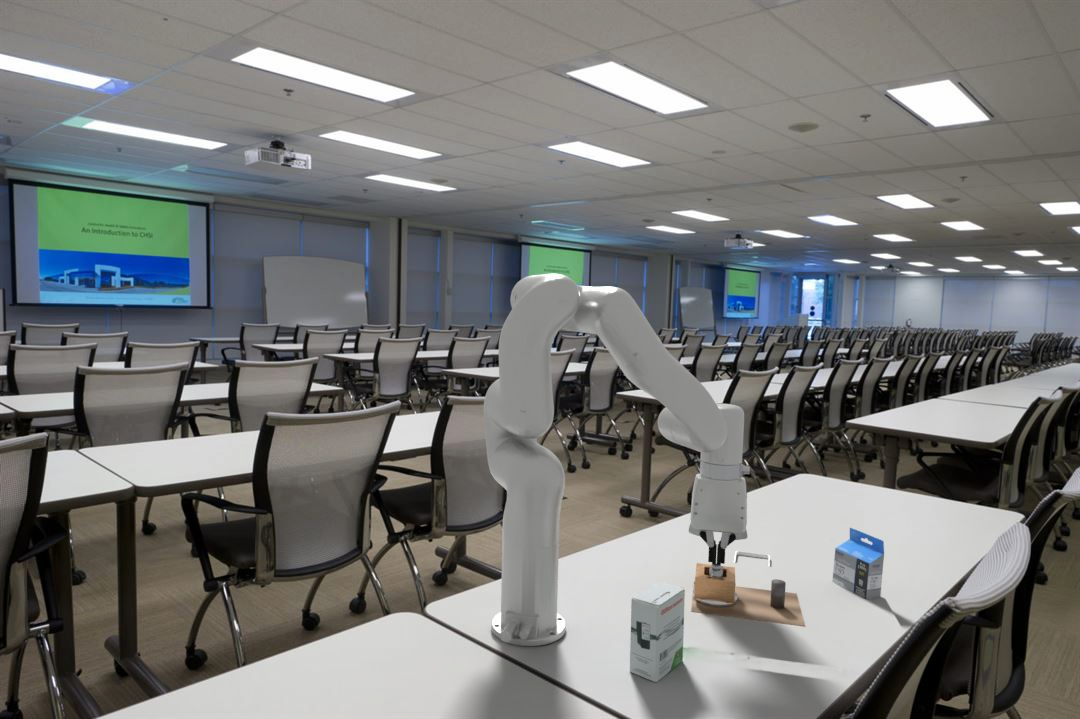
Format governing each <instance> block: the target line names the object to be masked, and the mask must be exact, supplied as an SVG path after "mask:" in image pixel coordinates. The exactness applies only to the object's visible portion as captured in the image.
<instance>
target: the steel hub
mask: <svg viewBox="0 0 1080 719" xmlns="http://www.w3.org/2000/svg"><path fill="white" fill-rule="evenodd" d="M711 565H712V567H711V568H710V569H709V575H710V576H719V577H723V569H721V566H722V565H719V564H717V563H716V564H712V563H711ZM694 594H695V588H694V589H692V598H694ZM694 600H695V601H697V602H698V603H700V604H703V605H706V606H710V607H716V608H726V607H731V606H734V605H735V604H736V603H737V593H736V592H735V600H734V603H728V602H720V601H712V600H704V599H696V598H694Z"/></svg>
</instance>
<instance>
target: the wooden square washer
mask: <svg viewBox="0 0 1080 719" xmlns="http://www.w3.org/2000/svg"><path fill="white" fill-rule="evenodd" d="M711 567H712V564H710V563H709V564H708V563H701V562H700V563H699V562H696V565H695V576H694V577H695V578H694V581H695V594H694V598H696V599H704V600H712V601H720V602H728V603H734V600H735V586H736V567H735V566H725V565H721V569H723V577H719V576H710V575H709V569H710V568H711Z"/></svg>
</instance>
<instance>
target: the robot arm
mask: <svg viewBox="0 0 1080 719" xmlns="http://www.w3.org/2000/svg"><path fill="white" fill-rule="evenodd" d="M509 301H510V306H511V310H510V312H509V314H508V315H507V317H506V319H505V321H504V323H503V325H502V328H501V331H500V336H499V341H498V376H499V378H498V379H496V380H494V382H492V384H491V385H490V386H489V387H488V389H487V390H486V393H485V397H484V399H483V400H484V401H483V421H484V422H483V423H484V433H485V434H484V435H485V446H486V456H487V464H488V469H489V472H490V474H491V475H492V477H493V479H494V480H495V481H496V482H497V483H498V484H499V485H500V486H501V487H502V488H504V490H506V500H505V501H506V502H505V506H504V511H503V517H502V528H501V529H502V530H501V533H502V534H501V536H502V537H501V542H502V543H501V545H502V546H501V583H500V585H501V589H500V591H501V594H500V595H501V596H500V612H498V613H497V614H496V615H495V616H493V618H492V620H491V626H490V628H491V629H490V630H491V632H492V634H493V635H494V636H495V637H497V638H498V639H499V640H500V641H503V643H508V644H510V645H516V646H521V647H523V646H524V647H538V646H546V645H548V644H552V643H554V642H556V641H559V639H561V638H562V637H563V636H564V634H566V633H565V632H566V631H567V630H566V627H567V626H566V625H567V624H566V623H567V622H566V620H565V619H564V617H562V615H560V614H559V613H558V589H559V588H558V587H559V558H560V557H559V550H560V547H559V546H560V539H559V538H560V521H561V520H560V519H561V508H562V502H563V496H564V492H565V486H566V474H565V469H564V466H563V465H562V462H561V461H560V459H559V458H558V457H557V455H556V454H555V453H554V452H553V451H551V450H550V449H548V448H547V447H545V446H544V445H541V444H539V443H538V438H540V437H542V436H544V434H546V433H547V432H548V431H549V429H550V428H551V427H552V425H553V421H554V414H555V407H554V406H555V405H554V395H553V394H554V393H553V380H552V365H551V364H552V361H551V356H552V355H551V354H552V347H553V344H554V343H553V342H554V339H555V338H556V336H557V334H558V332H559V331H560V330H564V331H568V332H569V331H570V332H576V333H577V332H578V333H585V334H592V335H597V337H598V338H599V339H600V340H601V342H602V343H603V345H604V347H605V348H606V349H607V351H608V353H609V354H610V356H612V358H613V360H614V361H615V363H616V364H617V366H618V367H619V369H620V370H621V371H622V373H623V375H624V376H625V377H626V379H628V380H629V381H630V382H631V383H632V384H633V385H635V387H637V388H638V389H639V390H641V391H643V393H644V392H645V393H646V394H648V395H649V396H650V397H652V398H654V399H656V400H657V401H658V402H660V403H661V404H662V406H664V408H663V409H662V410H661V411H660V413H659V415H658V418H657V428H658V431H659V432H660V434H661V435H662V437H664V438H665V439H666V440H668V441H670V442H672V443H674V444H676V445H679V446H682V447H686V448H688V449H690V450H694V451H696V452H700V459H699V460H700V463H699V464H700V465H699V473H697V474H695V477H694V482H693V486H692V494H691V495H692V496H691V506H690V523H689V525H688V526H689V527H688V534H691V535H695V536H698V537H700V538H701V539H702V540H703V541H704V542H705V543H706V546H708V561H707V562H708V563H711V565H712V564H719V565H721V564H726V549H727V548H728V546H729V545H731V544H732V543H734V542H735V541H740V540H746V539H748V538H749V537H748V531H747V524H748V493H747V491H748V490H747V482H746V479H745V478H744V477H742V476H744V475H750V472H751V466H747V465H744V463H743V452H744V451H743V450H744V433H745V432H744V430H745V429H744V428H745V412H744V409H743V408H742V407H741V406H738V405H736V404H730V403H716V401H715V400H714V398H713V397H712V395H711V394H710V392H709V391H708V390H707V389H706V387H705V386H704V385H703V383H701V381H699V380H698V379H697V378H696V377H695V376H694V375H693V374H692V373H691V372H690V371H689V370H688V369H687V368H686V367H685V366H684V365H683V364H682V363H681V361H679V360H677V359H676V358H675V357H674V356H673V355H672V354H671V353H670V351H668V349H667V348H666V347H665V345H664V344H663V342H662V341H661V339H660V337H659V336H658V335H657V333H656V332H655V330H654V328H653V327H652V325H651V324H650V323H649V321H648V319H647V317H646V316H645V314H644V313H643V311H642V310H641V308H640V307H639V305H638V304H637V302H636V300H635V299H634V298H633V297H632V295H631V294H630V293H629V292H628V291H627V290H625V289H623V288H621V287H618V286H617V287H616V286H590V285H589V286H588V285H587V286H585V285H580V284H577V283H576V282H575V281H574V280H573V279H572V278H570V277H569V276H567V275H565V274H562V273H561V274H560V273H544V274H534V275H528V276H525V277H523V278H521V279H520V280H519V281H517V282H516V284H515V285H514V287H513V288H512V290H511V293H510V299H509ZM714 532H716V533H721V537H720V540H719V541H718V544H716V542H717V541H716V540H715V536H714ZM721 566H722V565H721Z"/></svg>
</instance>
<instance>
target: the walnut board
mask: <svg viewBox="0 0 1080 719" xmlns="http://www.w3.org/2000/svg"><path fill="white" fill-rule="evenodd" d="M694 588H695V580H694V581H693V589H694ZM693 589H692V590H693ZM735 592H736V593H737V603H736V604H735V605H734V606H731V607H726V608H716V607H710V606H706V605H703V604H700V603H698V602H697V601H695V600H694V598H693V597H692V599H691V600H692V601H691V608H690V609H691V610H690V611H691V612H692V613H698V614H704V615H706V614H707V615H712V616H713V615H714V616H720V617H721V616H722V617H727V618H728V617H729V618H736V619H744V620H753V621H761V622H766V623H769V622H770V623H776V624H782V625H790V626H799V627H806V624H805V620H804V616H803V613H802V609H801V605H800V601H799V597H798V594H797V592H796V593H795V592H786V581H785V580H782V579H776V578H775V579H774V578H773V579H771V586H770V589H764V588H763V589H762V588H753V587H745V586H737V585H735Z"/></svg>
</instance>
